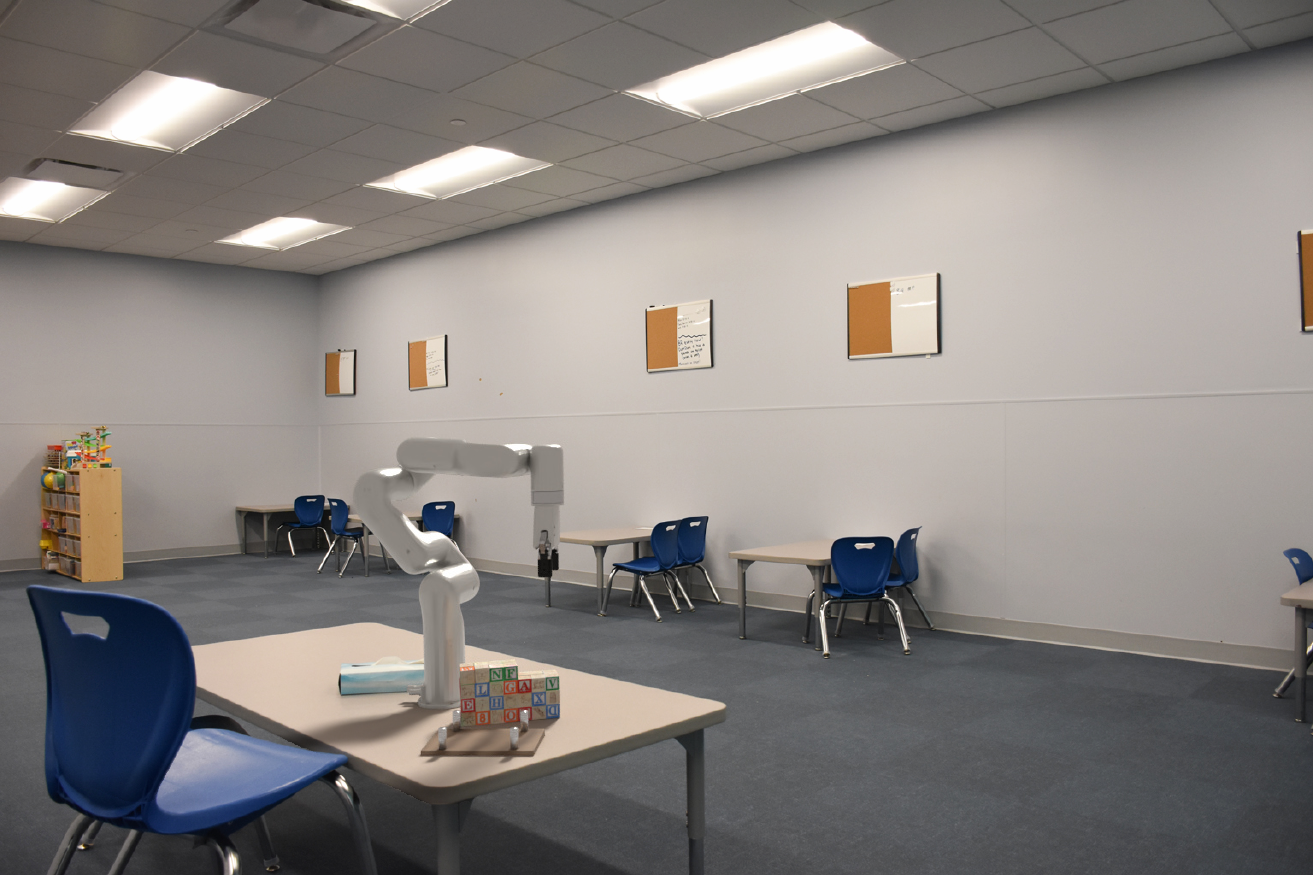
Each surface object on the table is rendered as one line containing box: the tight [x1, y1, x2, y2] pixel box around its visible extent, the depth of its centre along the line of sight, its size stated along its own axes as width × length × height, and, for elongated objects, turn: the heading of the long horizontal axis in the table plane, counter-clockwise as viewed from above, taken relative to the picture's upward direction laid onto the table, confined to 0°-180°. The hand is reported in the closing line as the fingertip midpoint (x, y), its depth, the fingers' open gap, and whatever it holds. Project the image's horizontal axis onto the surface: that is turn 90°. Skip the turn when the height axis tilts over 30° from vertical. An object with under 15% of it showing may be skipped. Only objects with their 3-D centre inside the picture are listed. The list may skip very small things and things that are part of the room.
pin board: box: [420, 709, 546, 757], centre depth 183 cm, size 22×13×6 cm, turn 88°
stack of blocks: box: [459, 658, 561, 727], centre depth 202 cm, size 21×6×12 cm, turn 104°
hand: (548, 573), depth 210 cm, fingers open, 9 cm apart
